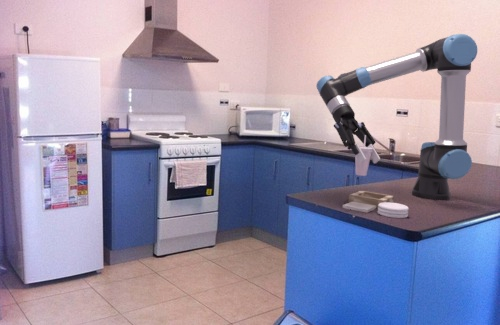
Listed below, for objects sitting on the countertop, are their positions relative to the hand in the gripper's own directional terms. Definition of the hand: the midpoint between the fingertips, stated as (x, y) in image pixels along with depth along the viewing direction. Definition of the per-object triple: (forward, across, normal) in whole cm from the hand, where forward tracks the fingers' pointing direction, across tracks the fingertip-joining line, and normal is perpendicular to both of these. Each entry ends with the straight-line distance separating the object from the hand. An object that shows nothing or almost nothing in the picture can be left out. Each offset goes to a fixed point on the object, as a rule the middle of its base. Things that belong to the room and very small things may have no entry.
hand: (370, 161), depth 158 cm
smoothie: (+1, 0, -6) cm, 7 cm away
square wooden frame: (+7, -12, -18) cm, 23 cm away
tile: (+10, 0, -15) cm, 18 cm away
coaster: (+18, -5, -7) cm, 20 cm away
